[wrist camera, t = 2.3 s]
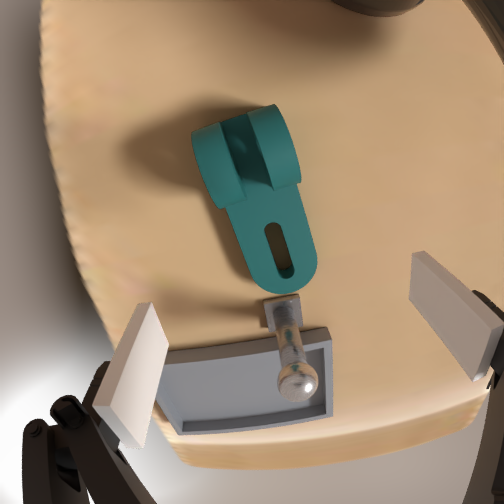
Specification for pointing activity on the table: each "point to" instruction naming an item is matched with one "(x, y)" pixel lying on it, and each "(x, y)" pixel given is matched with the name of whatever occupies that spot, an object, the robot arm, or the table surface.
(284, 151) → the bracket
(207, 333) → the table surface
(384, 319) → the table surface
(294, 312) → the ball stud
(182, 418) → the bin
